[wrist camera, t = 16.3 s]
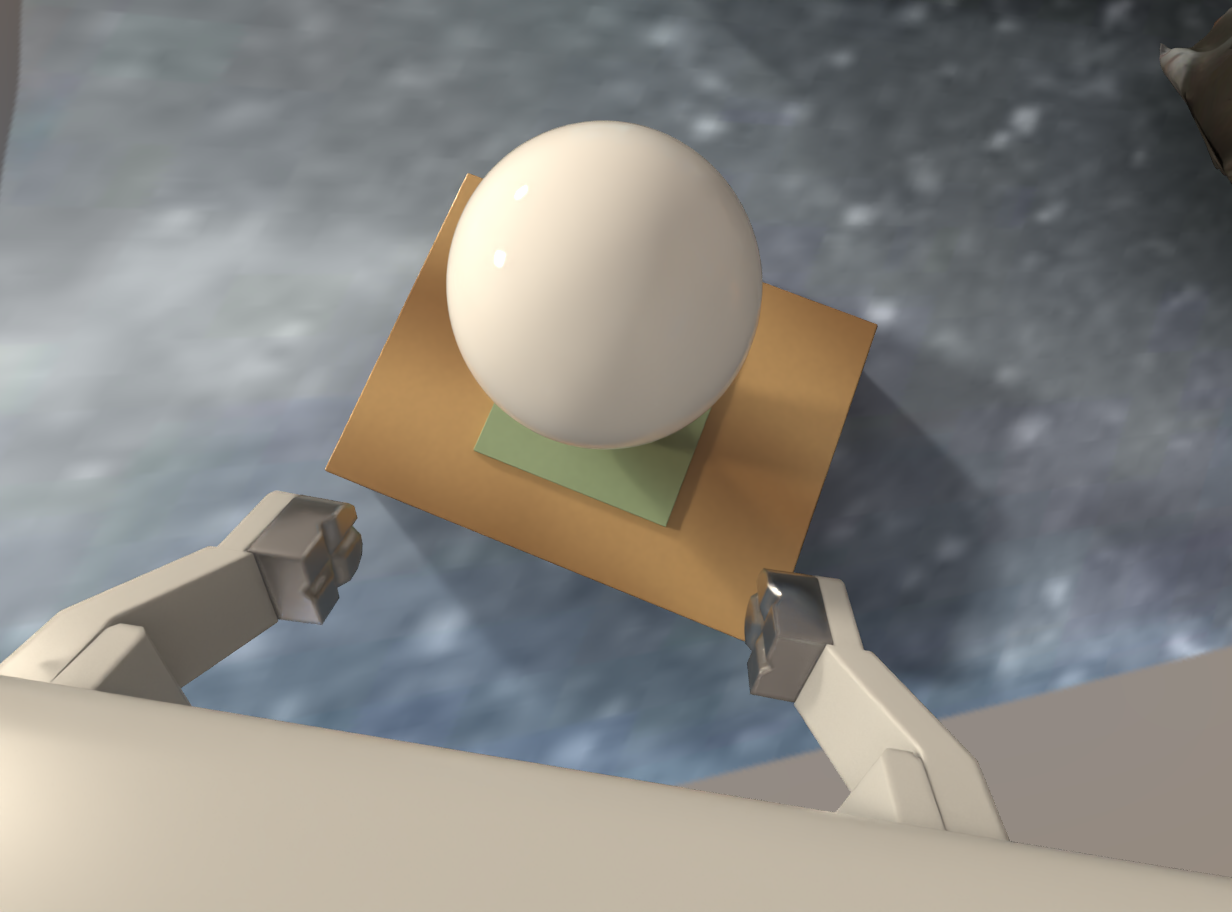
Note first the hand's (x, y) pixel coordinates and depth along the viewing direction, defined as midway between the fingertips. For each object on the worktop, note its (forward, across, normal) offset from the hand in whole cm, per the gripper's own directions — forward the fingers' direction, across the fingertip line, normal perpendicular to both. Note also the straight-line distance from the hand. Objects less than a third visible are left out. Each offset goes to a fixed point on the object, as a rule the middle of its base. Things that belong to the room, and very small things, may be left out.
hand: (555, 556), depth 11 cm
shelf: (+11, 0, -4) cm, 12 cm away
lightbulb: (+9, 0, -2) cm, 9 cm away
